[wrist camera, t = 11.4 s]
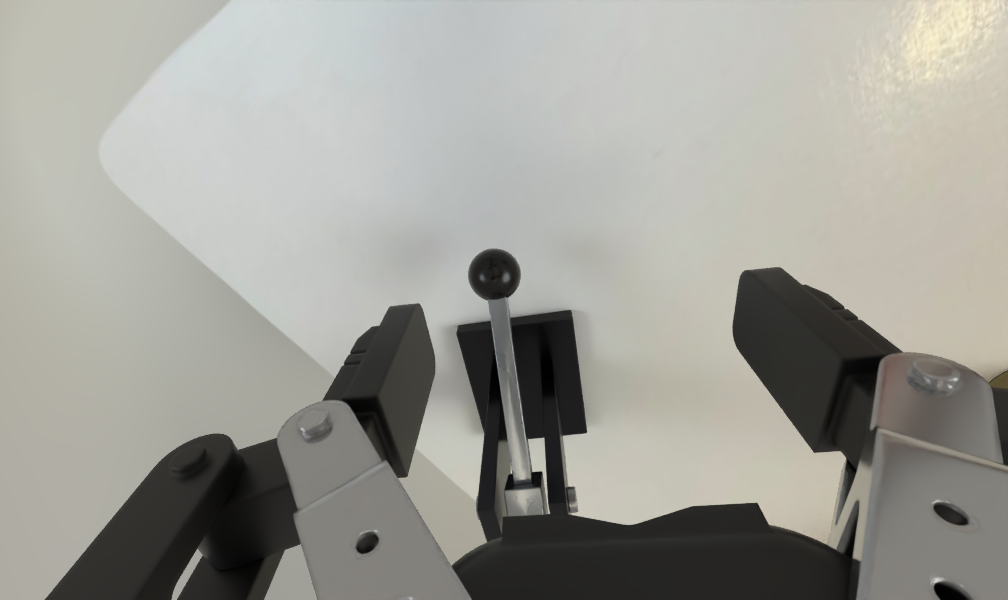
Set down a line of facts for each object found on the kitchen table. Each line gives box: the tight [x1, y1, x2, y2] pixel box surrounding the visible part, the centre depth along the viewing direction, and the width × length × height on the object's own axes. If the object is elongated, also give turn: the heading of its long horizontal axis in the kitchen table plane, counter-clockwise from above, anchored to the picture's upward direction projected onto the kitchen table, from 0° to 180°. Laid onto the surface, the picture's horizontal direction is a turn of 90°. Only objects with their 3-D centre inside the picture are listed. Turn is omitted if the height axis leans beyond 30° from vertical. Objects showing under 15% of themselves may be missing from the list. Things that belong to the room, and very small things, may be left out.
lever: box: [468, 249, 548, 516], centre depth 26 cm, size 17×3×3 cm, turn 11°
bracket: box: [457, 310, 587, 542], centre depth 31 cm, size 12×9×14 cm
